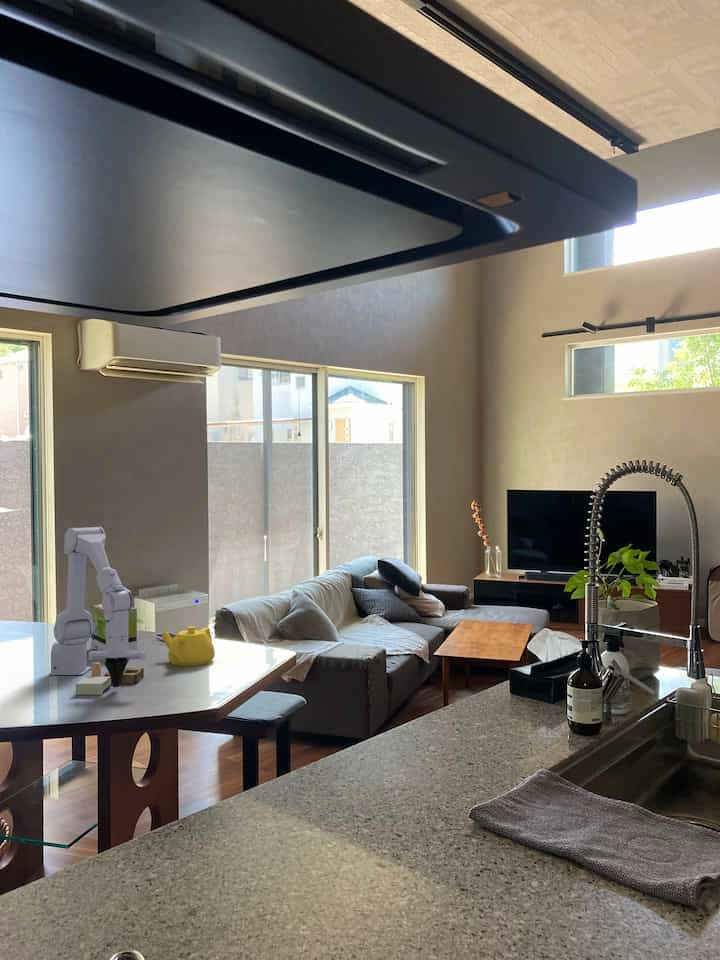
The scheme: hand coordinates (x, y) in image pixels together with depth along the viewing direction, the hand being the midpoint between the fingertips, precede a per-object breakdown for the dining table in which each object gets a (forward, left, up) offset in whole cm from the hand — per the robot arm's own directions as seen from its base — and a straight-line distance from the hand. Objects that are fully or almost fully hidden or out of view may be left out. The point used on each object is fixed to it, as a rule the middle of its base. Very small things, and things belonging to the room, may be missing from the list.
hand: (116, 686), depth 203 cm
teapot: (+11, +33, -2) cm, 35 cm away
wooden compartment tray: (-1, +11, -1) cm, 11 cm away
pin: (-8, +6, -1) cm, 10 cm away
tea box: (-16, +47, -2) cm, 50 cm away
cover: (-6, 0, -1) cm, 6 cm away
